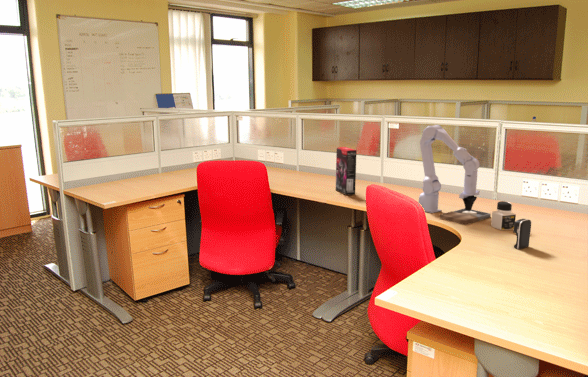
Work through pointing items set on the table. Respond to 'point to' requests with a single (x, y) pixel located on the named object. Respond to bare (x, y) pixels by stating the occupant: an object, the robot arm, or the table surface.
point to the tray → (479, 214)
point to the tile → (470, 213)
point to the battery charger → (522, 233)
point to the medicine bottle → (503, 216)
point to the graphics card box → (346, 170)
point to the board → (459, 218)
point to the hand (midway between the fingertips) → (468, 210)
